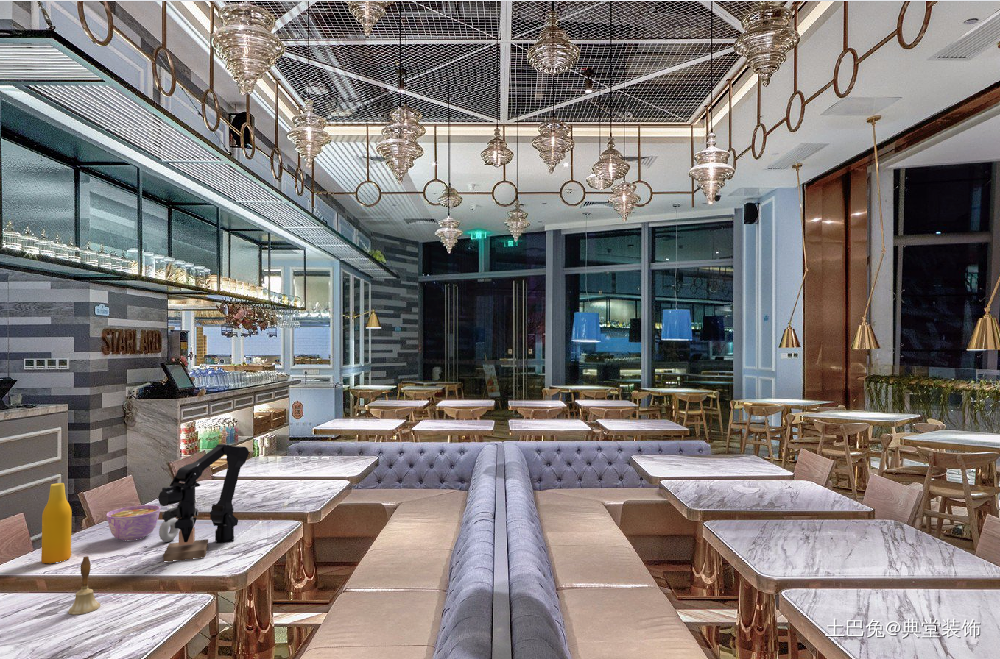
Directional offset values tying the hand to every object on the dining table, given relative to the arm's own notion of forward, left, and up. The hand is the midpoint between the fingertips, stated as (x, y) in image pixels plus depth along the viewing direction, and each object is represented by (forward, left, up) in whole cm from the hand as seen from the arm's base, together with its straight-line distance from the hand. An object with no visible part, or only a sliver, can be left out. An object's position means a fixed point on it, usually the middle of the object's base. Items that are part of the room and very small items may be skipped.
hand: (186, 540), depth 234 cm
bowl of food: (+24, -32, -6) cm, 40 cm away
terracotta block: (0, 0, -1) cm, 1 cm away
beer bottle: (+46, -12, -6) cm, 48 cm away
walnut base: (0, 0, -6) cm, 6 cm away
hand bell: (+23, +44, -6) cm, 50 cm away
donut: (+9, -21, -6) cm, 24 cm away
